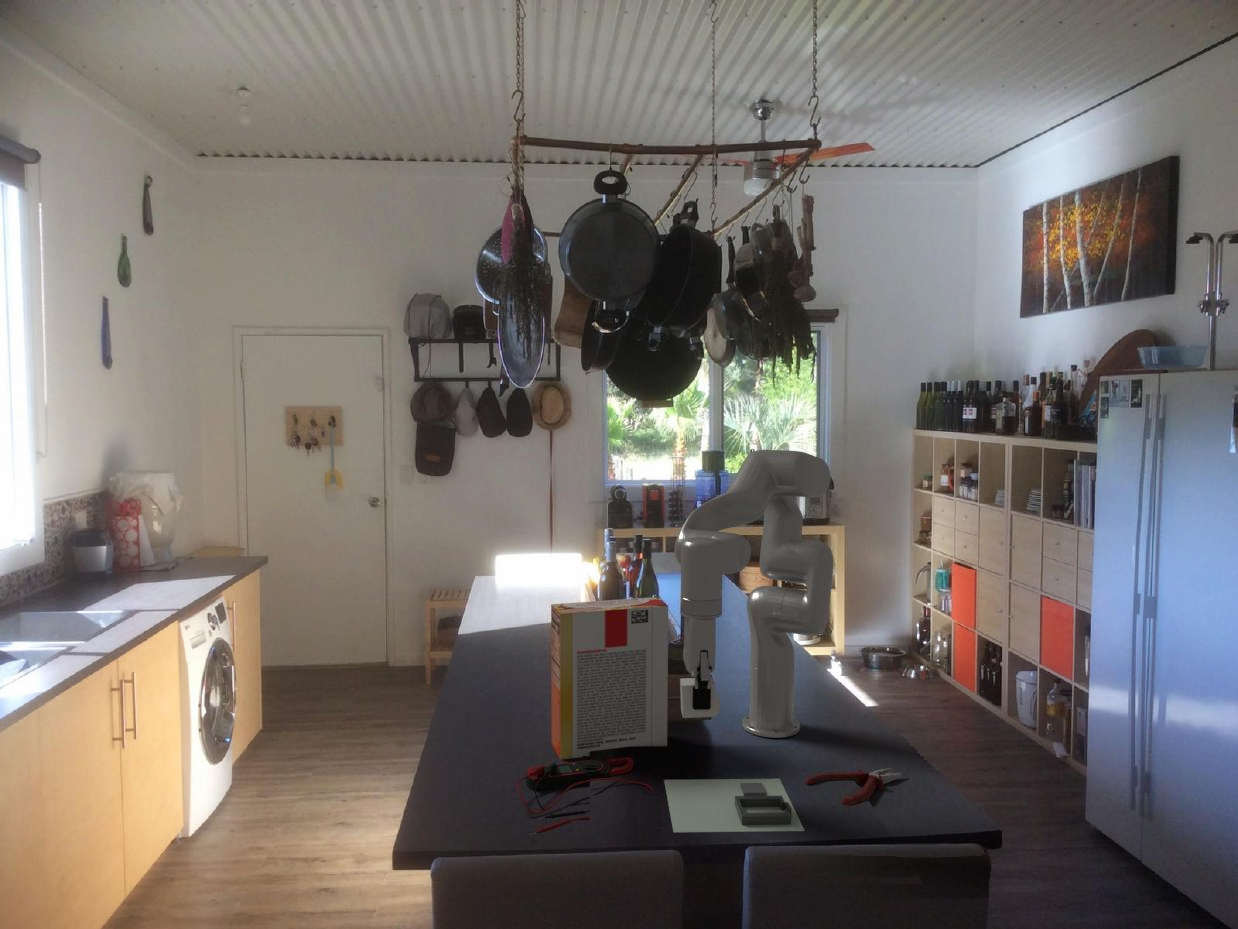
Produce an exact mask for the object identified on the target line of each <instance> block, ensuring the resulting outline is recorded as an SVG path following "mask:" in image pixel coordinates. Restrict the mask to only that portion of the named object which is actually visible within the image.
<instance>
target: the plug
mask: <svg viewBox="0 0 1238 929" xmlns="http://www.w3.org/2000/svg"><path fill="white" fill-rule="evenodd" d="M679 683H680V685H679V686H680V687H679V690H680V691H679V692H680V711H681V716H682V719H688V718H689V719H691V718H693V719H694V718H695V719H696V718H712V717H715V718H716V717H717V715H720V714H721V713H720V696H719V695H718V694H716V682H715V680H714V678H713V677H712V676H710V687H711V708H710V709H709V710H694V709H693V687H694V678H691V677H689V678H688V677H687V678H686V677H685V678H679Z"/></svg>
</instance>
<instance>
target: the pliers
mask: <svg viewBox="0 0 1238 929" xmlns="http://www.w3.org/2000/svg"><path fill="white" fill-rule="evenodd" d="M893 770H894V767H890V768H889V767H887V768H883V769H877V770H873V771H872V772H868V771H865V769H863V768H861V769H859V770H858V772H829V773H820V774H816V775H813V776H810V777H807V778H806V779H805V780H804V785H805V786H809V785H812V784H815V783H818V782H821V781H822V782H823V781H828V780H829V781H830V780H854V782H855V783H856V785H863V786H862V788H861V790H860V791H859V792H857V793H855V794H854V793H853V794H851V795H846V796H845V797H843V798H842V800H841V805H843V806H852V805H855V804H859V803H862V802H865V801H866V800H867V801H869V800H870V798H871V797H872V795H873V793H874V792H875V790H880V791H883V789H884V784H885V785H886V784H888V783H890V782H892V781H895V780H898V779H901V778H902V777H905V776H906V773H905V772H904V773H903V772H893Z"/></svg>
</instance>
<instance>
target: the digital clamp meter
mask: <svg viewBox="0 0 1238 929" xmlns="http://www.w3.org/2000/svg"><path fill="white" fill-rule="evenodd" d="M618 765H622V766H619V767H613V766H618ZM611 766H612V767H613V768H611ZM633 768H634V760H633V758H632V757H628V756H625V757H617V758H616V757H615V758H608V759H605V758H597V759H595V760H593V759H588V760H581V761H571V762H564V763H555V762H552V763H551V764H548V765H544V764H539V765H538V766H532V767H528V768H527V769H526V771H525V775H524V777H521V778H520V779H519V780H518V782H517V787H516V788H517V791H518V794H519V796H520V799H521V801H522V804H524V807H525V809H527V811H528V812H529V813H531V814H532V815H540V814H543V813H544V812H547V811H548V810H550V809H551V808H552V807H554V805H555V804H557V802H559V800H561V798H562V797H563V796H564V795H565V794H566V792H567V791H568V790H569V789H570V788H572V787H574V786H579V784H580V785H586V784H590V783H591V782H596V781H610V780H611V781H612V780H613V781H615V782H612V783H611V784H609V785H608V786H606V787H604V788H603V789H601V790H599V791H598V792H596V793H594V794H592V795H590V796H593V797H594V796H596V795H599V794H601V793H602V792H604V791H605V790H607V789H609V788H610V787H611V786H613V785H615V784H617V783H618V782H627V783H630V784H638V785H642V786H645V787H648V788H649V789H650V790H652V791H654V789H653V787H651V786H650V785H649V784H647V783H644V782H639V781H633V780H630V779H628V778H627V779H626V778H625V779H622V778H618V777H611V776H617V775H622V774H626V773H629V772H630V771H631V770H632V769H633ZM609 776H610V777H609ZM592 778H593V779H592ZM523 780H525V785H526V787H527V788H528V789H529V790H532V791H534V790H535V791H534V796H535V799H536V802H537V803H538V806H539V807H540V808H541V809H542V810H541V811H536V812H535V811H532V810H531V808H529V807H528V805H527V802H526V801H525V800H524V797H523V796H522V793H521V789H520V783H521V781H523ZM556 787H557V788H563V787H567V788H566V789H565V790H564V791H563V792H562V794H561V795H560V796H559V797H558V798H557V799H556V800H555V801H554V803H552V804H551V805H550V806H549V807H546V809H545V808H544V807H543V805H541V803H540V801H539V799H538V796H537V791H541V790H547V789H549V790H550V789H555V788H556ZM557 788H556V789H557ZM590 796H587V797H585V798H582V799H580V800H578V801H576V802H574V803H573V804H570V805H569V807H573V806H575V805H578V804H579V803H581V802H583V801H585V800H588V799H590V798H591V797H590ZM589 812H590V810H586V811H585V810H578V811H577V810H575V811H568V812H561V813H555V814H553V813H550V814H548V815H545V816H544V817H543V819H553V818H560V817H568V816H574V815H575V816H577V815H583V814H586V813H589ZM537 819H539V820H540V819H541V817H539V818H537ZM586 819H587V820H588V819H590V816H582V817H575V818H567V819H565V820H562V821H560V822H557V823H553V824H551V825H548V826H546V827H545V826H544V827H540V829H538V830H536V831H535V832H534V833H531V834H530V836H532V835H535V834H540V833H545V832H546V831H548V830H552V829H555V828H557V827H560V826H563V825H566V824H570V823H572V821H577V820H579V821H580V820H586Z"/></svg>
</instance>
